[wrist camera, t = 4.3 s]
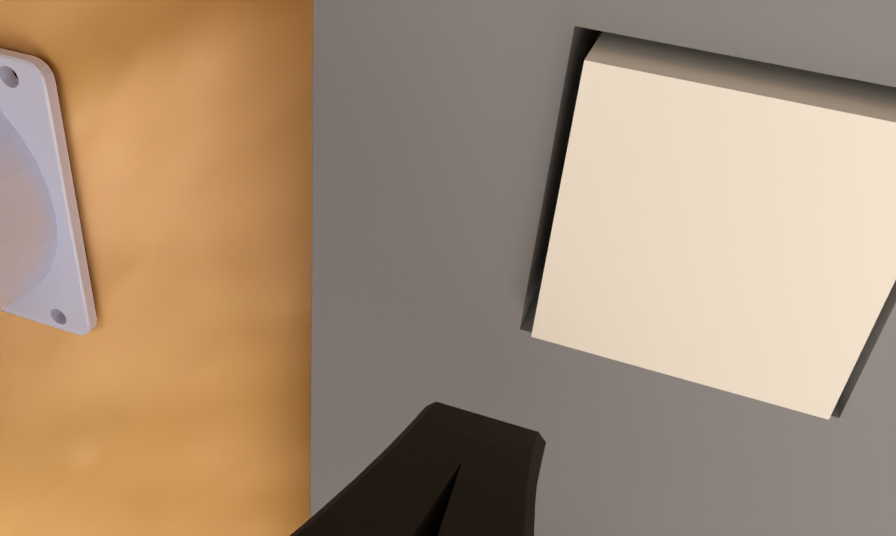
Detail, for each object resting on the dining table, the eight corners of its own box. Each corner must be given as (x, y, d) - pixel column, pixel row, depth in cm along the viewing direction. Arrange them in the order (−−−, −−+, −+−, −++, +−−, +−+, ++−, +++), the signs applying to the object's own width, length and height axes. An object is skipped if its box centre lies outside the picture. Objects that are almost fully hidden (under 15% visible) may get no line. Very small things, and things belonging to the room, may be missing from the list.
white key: (565, 254, 17) (530, 336, 14) (616, 9, 14) (583, 59, 12) (819, 319, 16) (828, 419, 13) (928, 67, 13) (964, 136, 11)
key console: (351, 613, 27) (309, 697, 24) (396, -260, 14) (314, -266, 11) (796, 779, 24) (800, 895, 21) (1410, -139, 11) (1604, -112, 8)
